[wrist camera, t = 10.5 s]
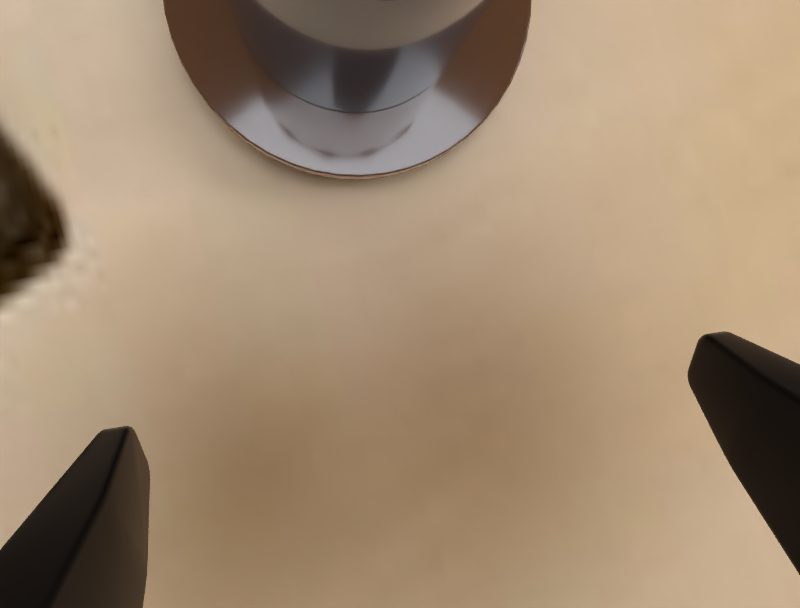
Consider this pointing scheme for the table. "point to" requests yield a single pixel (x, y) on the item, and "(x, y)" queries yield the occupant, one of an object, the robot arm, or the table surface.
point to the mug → (350, 75)
